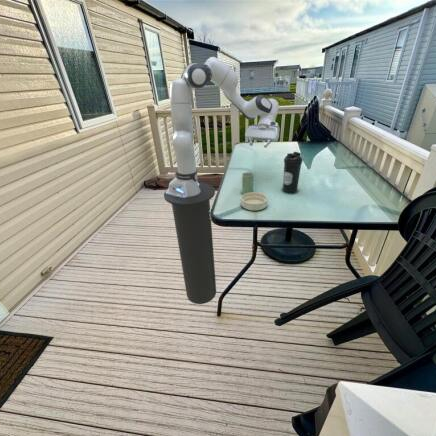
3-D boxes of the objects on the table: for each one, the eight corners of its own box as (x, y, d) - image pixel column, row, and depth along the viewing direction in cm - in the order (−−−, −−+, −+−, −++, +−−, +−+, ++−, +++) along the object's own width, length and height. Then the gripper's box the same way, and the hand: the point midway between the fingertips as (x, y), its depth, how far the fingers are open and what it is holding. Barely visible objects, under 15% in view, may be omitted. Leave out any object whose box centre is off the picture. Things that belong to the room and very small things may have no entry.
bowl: (238, 209, 130) (238, 202, 128) (244, 198, 142) (244, 191, 140) (264, 213, 126) (264, 205, 124) (269, 201, 138) (269, 193, 136)
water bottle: (277, 190, 150) (280, 153, 138) (288, 185, 155) (292, 149, 143) (291, 195, 143) (295, 157, 131) (301, 190, 148) (307, 153, 136)
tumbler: (240, 195, 146) (240, 175, 139) (243, 190, 151) (243, 171, 145) (251, 196, 144) (252, 176, 138) (254, 191, 149) (254, 172, 143)
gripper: (247, 121, 147) (240, 141, 145) (280, 123, 138) (272, 145, 136) (251, 127, 153) (243, 147, 151) (282, 130, 144) (275, 150, 142)
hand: (257, 146), depth 143 cm, fingers open, 8 cm apart
